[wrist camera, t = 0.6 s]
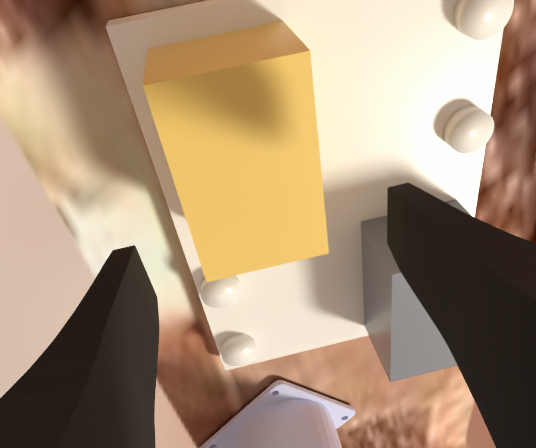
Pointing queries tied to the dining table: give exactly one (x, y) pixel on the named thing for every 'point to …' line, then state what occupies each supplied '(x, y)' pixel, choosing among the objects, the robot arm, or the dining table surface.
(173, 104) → the top brick
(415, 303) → the base brick
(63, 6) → the dining table surface
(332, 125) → the baseplate
